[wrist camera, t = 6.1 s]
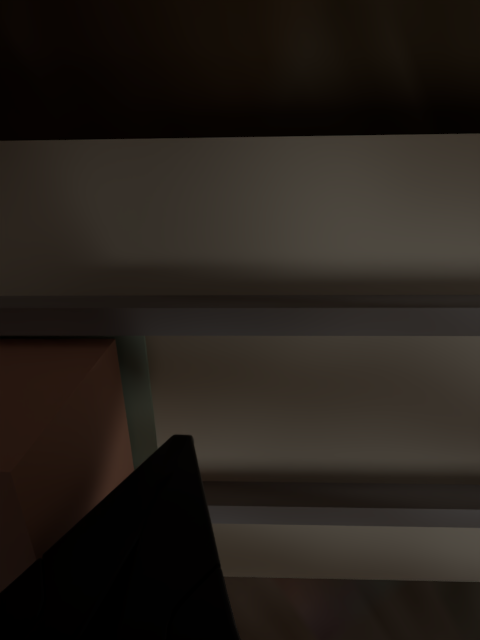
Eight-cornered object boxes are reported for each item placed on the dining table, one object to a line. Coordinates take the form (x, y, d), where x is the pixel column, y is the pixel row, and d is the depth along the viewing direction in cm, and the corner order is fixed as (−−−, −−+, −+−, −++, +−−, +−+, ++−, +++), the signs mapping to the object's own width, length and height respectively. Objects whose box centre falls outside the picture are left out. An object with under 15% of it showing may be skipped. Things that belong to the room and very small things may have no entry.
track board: (593, 539, 13) (759, 721, 9) (-5, 528, 13) (-122, 693, 9) (776, 133, 8) (1305, 103, 4) (-133, 146, 9) (-471, 133, 5)
